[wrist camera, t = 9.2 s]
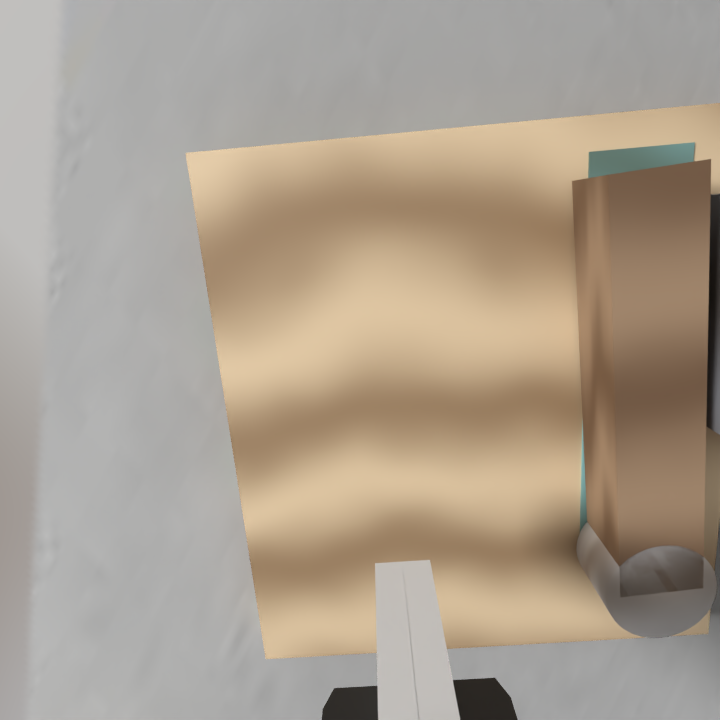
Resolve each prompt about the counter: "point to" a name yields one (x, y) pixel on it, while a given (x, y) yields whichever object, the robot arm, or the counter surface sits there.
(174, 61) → the counter surface
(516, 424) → the wooden flat board
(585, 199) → the hinged leg
